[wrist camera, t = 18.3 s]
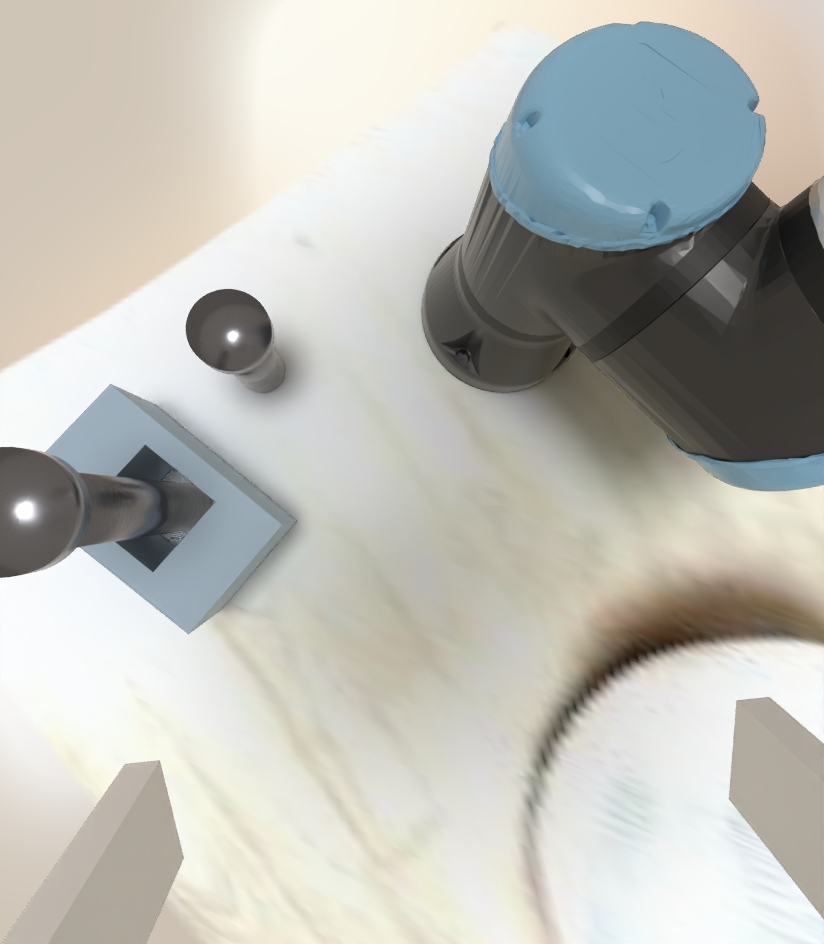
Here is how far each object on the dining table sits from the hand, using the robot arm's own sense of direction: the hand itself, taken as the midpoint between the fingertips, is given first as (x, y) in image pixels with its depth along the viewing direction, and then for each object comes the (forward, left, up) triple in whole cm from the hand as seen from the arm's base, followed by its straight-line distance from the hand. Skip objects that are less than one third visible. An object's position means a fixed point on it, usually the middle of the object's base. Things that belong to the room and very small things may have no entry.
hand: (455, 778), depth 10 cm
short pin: (+10, -19, -30) cm, 37 cm away
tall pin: (+17, -8, -30) cm, 36 cm away
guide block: (+17, -8, -30) cm, 36 cm away
